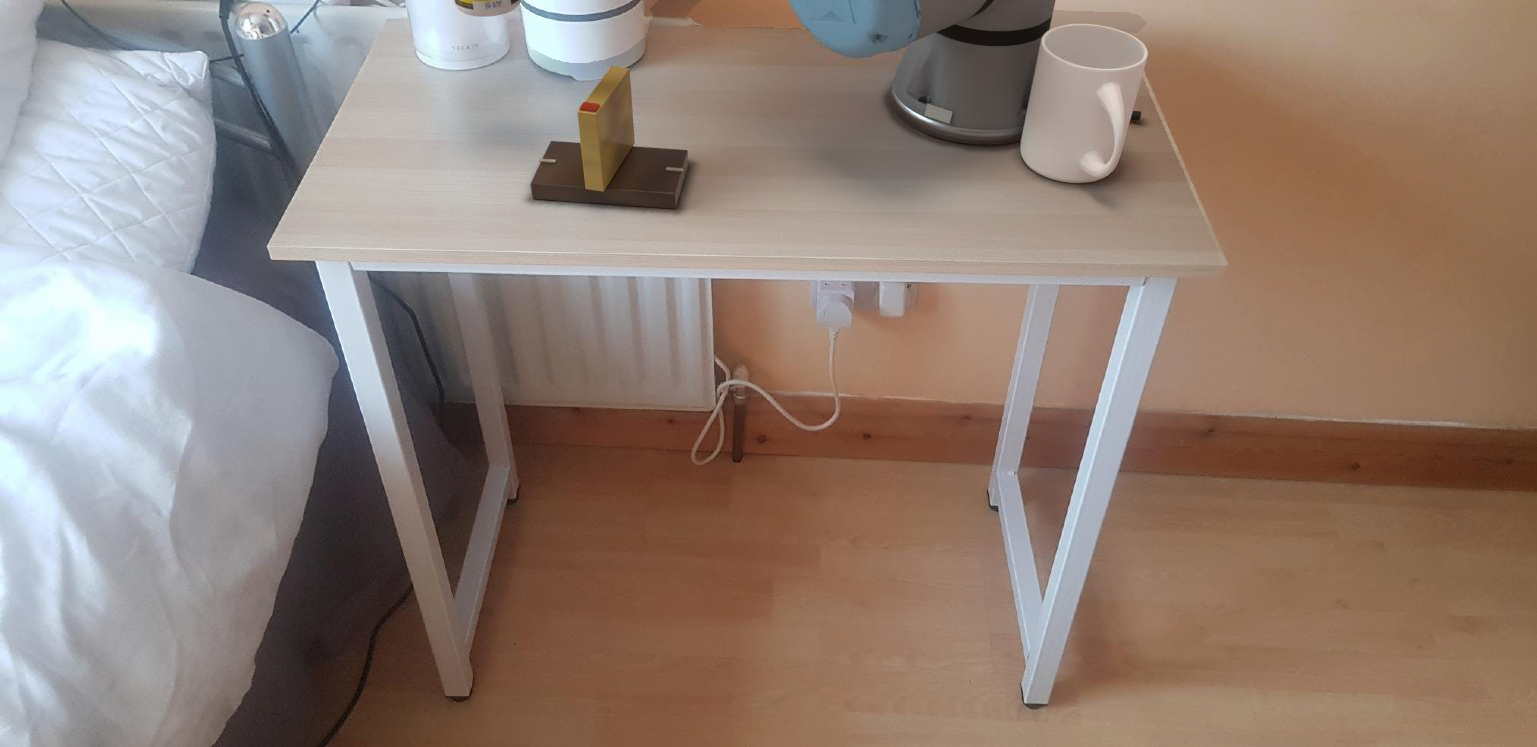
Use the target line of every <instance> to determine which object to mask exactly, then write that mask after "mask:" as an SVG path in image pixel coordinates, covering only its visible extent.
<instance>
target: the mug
mask: <svg viewBox="0 0 1537 747" xmlns="http://www.w3.org/2000/svg"><path fill="white" fill-rule="evenodd" d="M1148 57H1149V52H1148V49H1147V47H1146V45H1145V44H1144V42H1142V41H1141V40H1140V39H1139V38H1137V37H1135V36H1134V35H1132V34H1131V33H1128V32H1126V31H1123V30H1122V29H1121V30H1120V29H1117V28H1114V27H1111V26H1106V25H1100V24H1092V23H1070V24H1063V25H1059V26H1056V27H1052V28H1050V30H1049V31H1047V32H1046V33H1045V34H1044V35H1043V37H1042V39H1041V43H1040V48H1039V53H1038V58H1037V63H1036V68H1035V73H1034V78H1033V83H1032V88H1031V93H1030V98H1029V103H1028V108H1027V113H1026V118H1025V123H1024V128H1023V133H1022V138H1021V140H1020V154H1021V157H1022V159H1023V162H1024V163H1025V164H1026V165H1027V166H1028V168H1030V169H1031V170H1032V171H1033V172H1035V173H1037V174H1038V175H1041V176H1042V177H1045V178H1047V179H1050V180H1054V181H1058V182H1063V183H1070V184H1086V183H1087V184H1088V183H1093V182H1096V181H1100V180H1102V179H1104V178H1107V177H1108V176H1109V175H1110V174H1112V173H1113V172H1114V171H1115V169H1116V167H1117V165H1118V163H1119V162H1120V159H1121V155H1122V152H1123V149H1124V148H1123V147H1124V145H1125V141H1126V137H1127V134H1128V130H1129V126H1130V122H1131V120H1130V119H1131V116H1132V112H1133V111H1134V109H1135V104H1136V101H1137V98H1138V97H1137V96H1138V94H1139V90H1140V86H1141V83H1142V78H1143V75H1144V71H1145V68H1146V64H1147V61H1148Z"/></svg>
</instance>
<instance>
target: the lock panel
mask: <svg viewBox="0 0 1537 747" xmlns="http://www.w3.org/2000/svg"><path fill="white" fill-rule="evenodd" d="M538 163H539V165H538V167H537V169H536V171H535V173H534V175H533V177H532V179H531V182H530V191H531V192H530V193H531V198H532V200H541V201H542V200H544V201H545V200H546V201H557V202H558V201H559V202H560V201H561V202H573V203H589V204H600V205H616V206H631V207H641V208H643V207H644V208H657V209H673V210H676V209H677V207H678V203H679V199H680V196H681V191H682V189H683V186H684V182H685V178H686V174H687V171H688V169H689V168H688V167H689V150H688V149H680V148H665V147H663V148H662V147H650V146H636V145H635V146H634V145H633V147H632V148H631V150H630V151H629V153H628V155H627V156H626V158H625V159H624V161H623V162H622V164H621V165H620V167H619V169H618V170H617V172H616V173H615V175H614V176H613V178H612V179H611V181H610V183H609V184H608V186H607V187H606V189H605V190H604V191H596V190H589V189H586V188H585V179H584V170H583V160H582V151H581V142H576V141H562V140H561V141H559V140H550V142H549V144H548V146H547V147H546V150H545V152H544V154H543V156H542V158H539V160H538Z"/></svg>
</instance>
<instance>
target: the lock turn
mask: <svg viewBox="0 0 1537 747" xmlns="http://www.w3.org/2000/svg"><path fill="white" fill-rule="evenodd" d="M632 96H633V95H632V83H631V69H630V68H629V67H622V66H615V65H611V66H610V67H609V69H608V70H607V71H606V73H605V74H604V75H603V76H602V78H601V79H600V81H599V82H598V83H597V84H596V86H595V87H594V89H593V90H592V91H591V93H589V95H588V97H587V98H586V99H585V101H583V102H582V104H580V106H579V109H578V110H577V112H576V115H577V121H578V131H579V140H580V141H579V143H581V151H582V160H583V170H584V179H585V188H586V189H589V190H596V191H604V190H605V189H606V187H607V186H608V184H609V183H610V181H611V179H612V178H613V176H614V175H615V173H616V172H617V170H618V169H619V167H620V165H621V164H622V162H623V161H624V159H625V158H626V156H627V155H628V153H629V151H630V150H631V148H632V147H633V146H634V145H635V143H636V140H635V139H636V138H635V126H634V124H635V123H634V113H633V112H634V111H633V110H634V109H633V98H632Z"/></svg>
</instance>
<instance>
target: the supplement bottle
mask: <svg viewBox="0 0 1537 747" xmlns="http://www.w3.org/2000/svg"><path fill="white" fill-rule="evenodd" d="M452 2H453V4H454V6H455V8H456V9H457V10H459V12H461V13H463V14H464V15H469V16H472V17H479V18H481V17H483V18H484V17H487V18H488V17H496V16H503V15H504V14H508V13H510V12H512V11H514V10H516V8H518V7H519V6H520V4H521V2H522V0H452Z"/></svg>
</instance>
